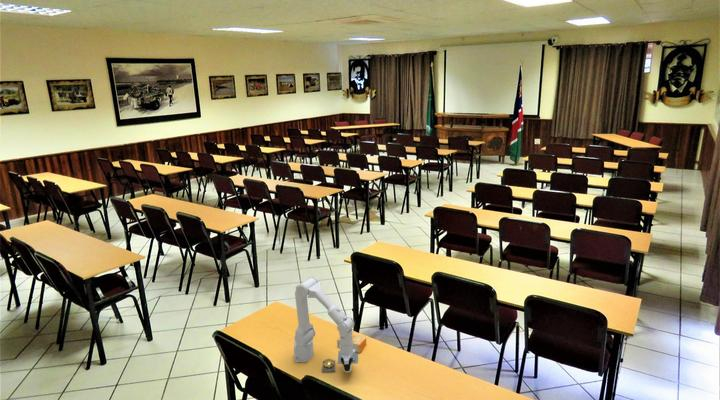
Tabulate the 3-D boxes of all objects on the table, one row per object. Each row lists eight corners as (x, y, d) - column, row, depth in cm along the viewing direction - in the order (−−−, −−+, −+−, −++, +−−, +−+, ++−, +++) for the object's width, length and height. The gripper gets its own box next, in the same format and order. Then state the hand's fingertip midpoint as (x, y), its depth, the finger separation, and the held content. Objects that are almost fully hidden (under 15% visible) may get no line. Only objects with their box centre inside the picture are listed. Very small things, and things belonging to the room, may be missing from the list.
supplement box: (359, 344, 214) (336, 339, 220) (360, 353, 215) (336, 348, 221) (366, 337, 222) (343, 332, 227) (366, 345, 223) (344, 340, 228)
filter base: (337, 365, 209) (337, 362, 208) (338, 352, 218) (338, 350, 218) (358, 365, 209) (358, 362, 208) (358, 352, 218) (357, 349, 218)
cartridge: (343, 372, 200) (342, 363, 199) (343, 367, 204) (343, 358, 203) (351, 372, 200) (351, 363, 199) (351, 366, 204) (351, 357, 203)
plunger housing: (322, 374, 203) (322, 368, 202) (323, 365, 209) (323, 360, 208) (334, 374, 203) (334, 368, 202) (335, 365, 209) (335, 360, 208)
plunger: (323, 372, 203) (323, 365, 202) (324, 365, 208) (323, 358, 207) (333, 372, 203) (333, 365, 202) (334, 365, 208) (334, 358, 207)
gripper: (355, 352, 191) (355, 377, 195) (355, 333, 205) (355, 357, 209) (339, 352, 191) (340, 377, 195) (340, 333, 205) (341, 357, 209)
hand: (347, 367), depth 202 cm, fingers closed on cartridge, 4 cm apart
